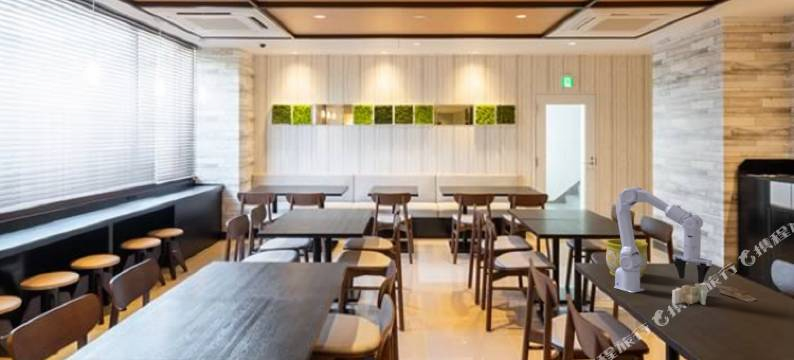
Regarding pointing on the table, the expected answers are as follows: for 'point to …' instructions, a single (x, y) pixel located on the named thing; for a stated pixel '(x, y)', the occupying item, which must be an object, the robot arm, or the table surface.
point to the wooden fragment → (735, 293)
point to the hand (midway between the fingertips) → (691, 280)
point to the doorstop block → (690, 294)
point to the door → (701, 295)
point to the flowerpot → (614, 256)
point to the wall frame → (678, 292)
